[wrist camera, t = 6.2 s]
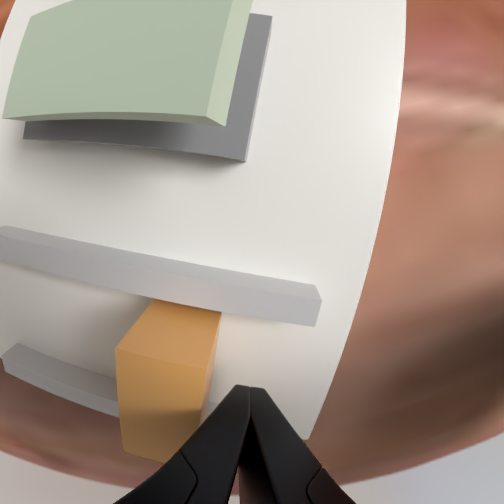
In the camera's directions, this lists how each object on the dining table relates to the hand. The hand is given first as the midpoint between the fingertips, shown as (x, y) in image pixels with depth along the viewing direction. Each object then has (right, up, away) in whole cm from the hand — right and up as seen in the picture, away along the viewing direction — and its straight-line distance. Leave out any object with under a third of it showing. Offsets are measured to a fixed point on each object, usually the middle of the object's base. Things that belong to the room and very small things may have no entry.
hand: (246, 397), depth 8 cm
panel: (-3, +9, +2) cm, 10 cm away
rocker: (-3, +8, -3) cm, 9 cm away
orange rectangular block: (-2, +1, +2) cm, 3 cm away
